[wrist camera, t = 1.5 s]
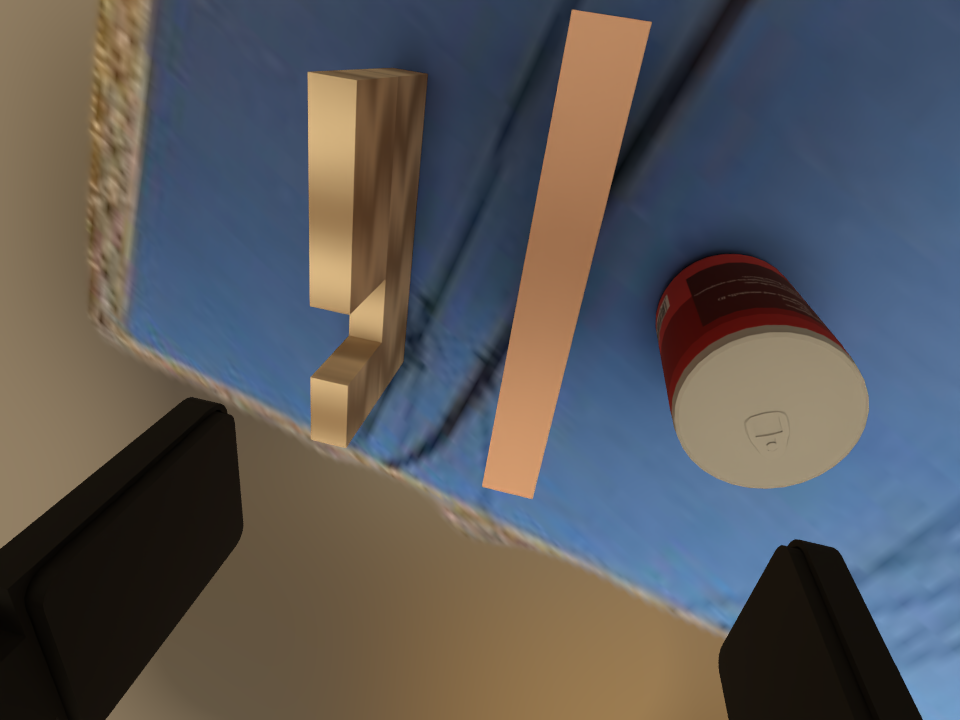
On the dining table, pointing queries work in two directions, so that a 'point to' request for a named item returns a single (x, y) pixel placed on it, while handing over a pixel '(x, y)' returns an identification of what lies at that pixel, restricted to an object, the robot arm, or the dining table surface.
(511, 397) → the terracotta plate
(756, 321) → the canned food
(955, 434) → the dining table surface
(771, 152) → the dining table surface
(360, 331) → the oak board
